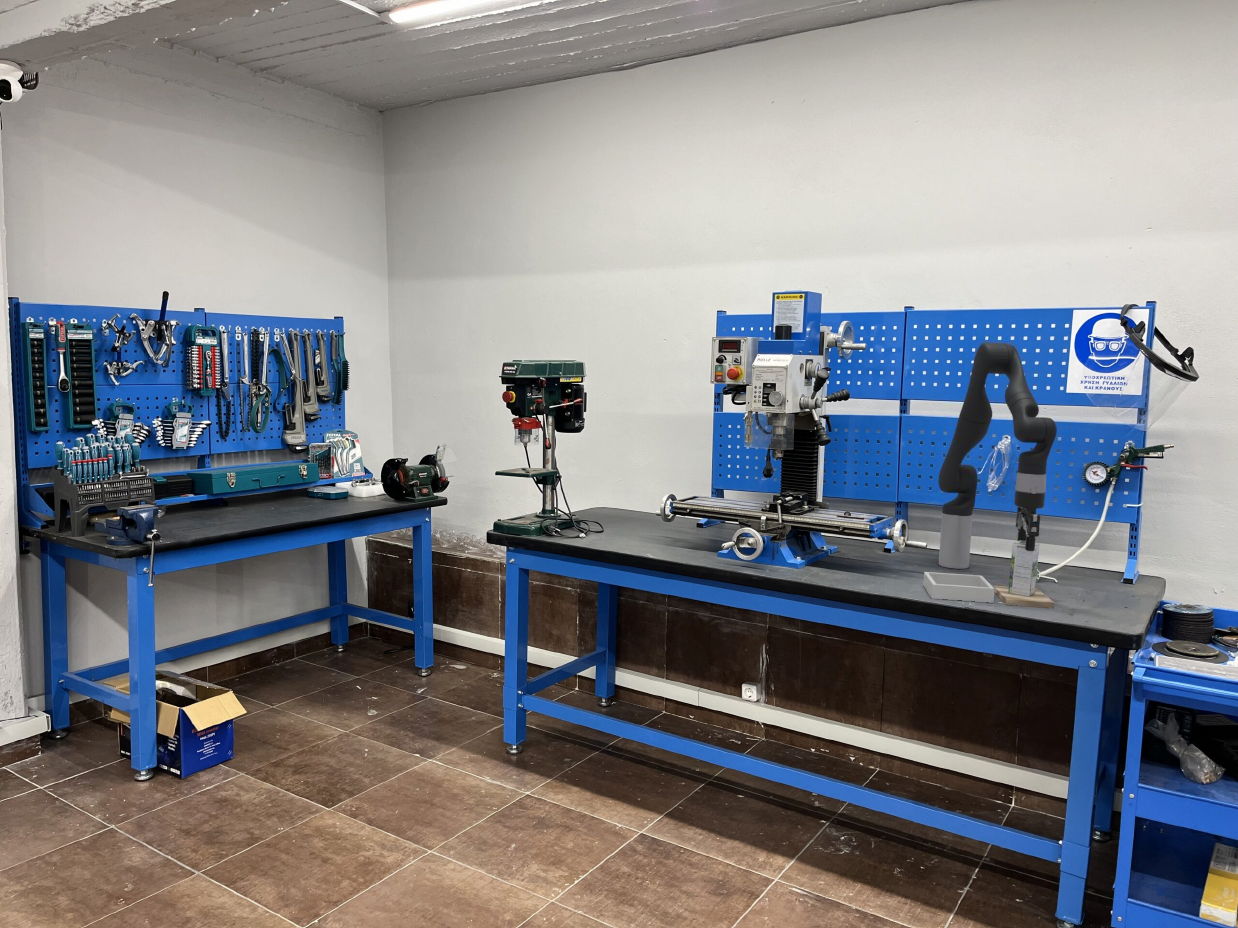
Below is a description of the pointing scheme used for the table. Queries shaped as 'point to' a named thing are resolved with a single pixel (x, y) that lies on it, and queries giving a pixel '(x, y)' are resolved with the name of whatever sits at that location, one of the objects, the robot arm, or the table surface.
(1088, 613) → the table surface
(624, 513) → the table surface
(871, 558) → the table surface
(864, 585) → the table surface
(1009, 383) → the robot arm
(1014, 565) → the syrup box
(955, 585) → the parts tray
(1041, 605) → the board
